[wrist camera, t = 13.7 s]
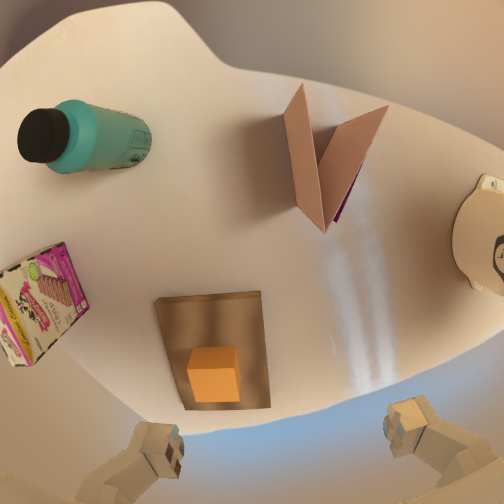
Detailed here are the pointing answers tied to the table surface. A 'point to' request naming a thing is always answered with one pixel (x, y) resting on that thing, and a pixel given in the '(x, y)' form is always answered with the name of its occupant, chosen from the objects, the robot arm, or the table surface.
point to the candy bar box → (38, 304)
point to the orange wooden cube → (215, 374)
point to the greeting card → (326, 160)
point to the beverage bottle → (83, 138)
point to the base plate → (217, 342)
